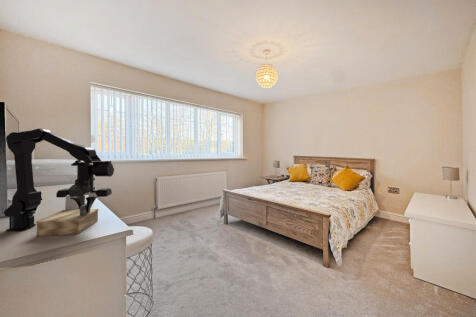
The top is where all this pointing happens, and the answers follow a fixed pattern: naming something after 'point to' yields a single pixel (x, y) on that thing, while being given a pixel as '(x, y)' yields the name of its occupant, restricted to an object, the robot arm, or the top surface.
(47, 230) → the brown piece
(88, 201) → the robot arm
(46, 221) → the lid
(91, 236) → the top surface
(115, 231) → the top surface
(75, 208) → the skincare box
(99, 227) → the top surface
